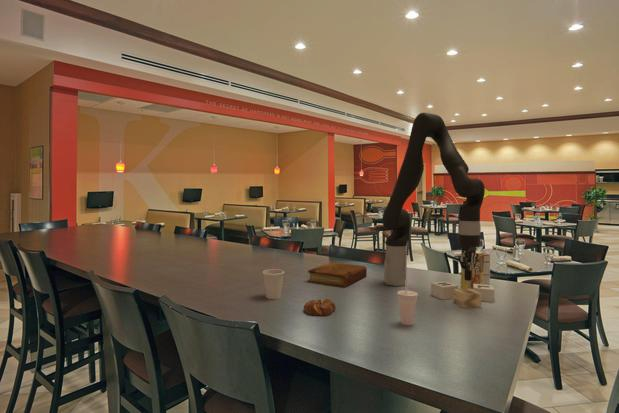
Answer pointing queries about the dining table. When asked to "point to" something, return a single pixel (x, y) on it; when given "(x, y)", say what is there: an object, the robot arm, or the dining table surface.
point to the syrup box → (486, 267)
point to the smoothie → (407, 305)
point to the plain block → (467, 298)
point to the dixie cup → (273, 283)
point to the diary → (337, 274)
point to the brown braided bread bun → (319, 307)
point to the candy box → (474, 274)
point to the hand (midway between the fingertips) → (468, 280)
